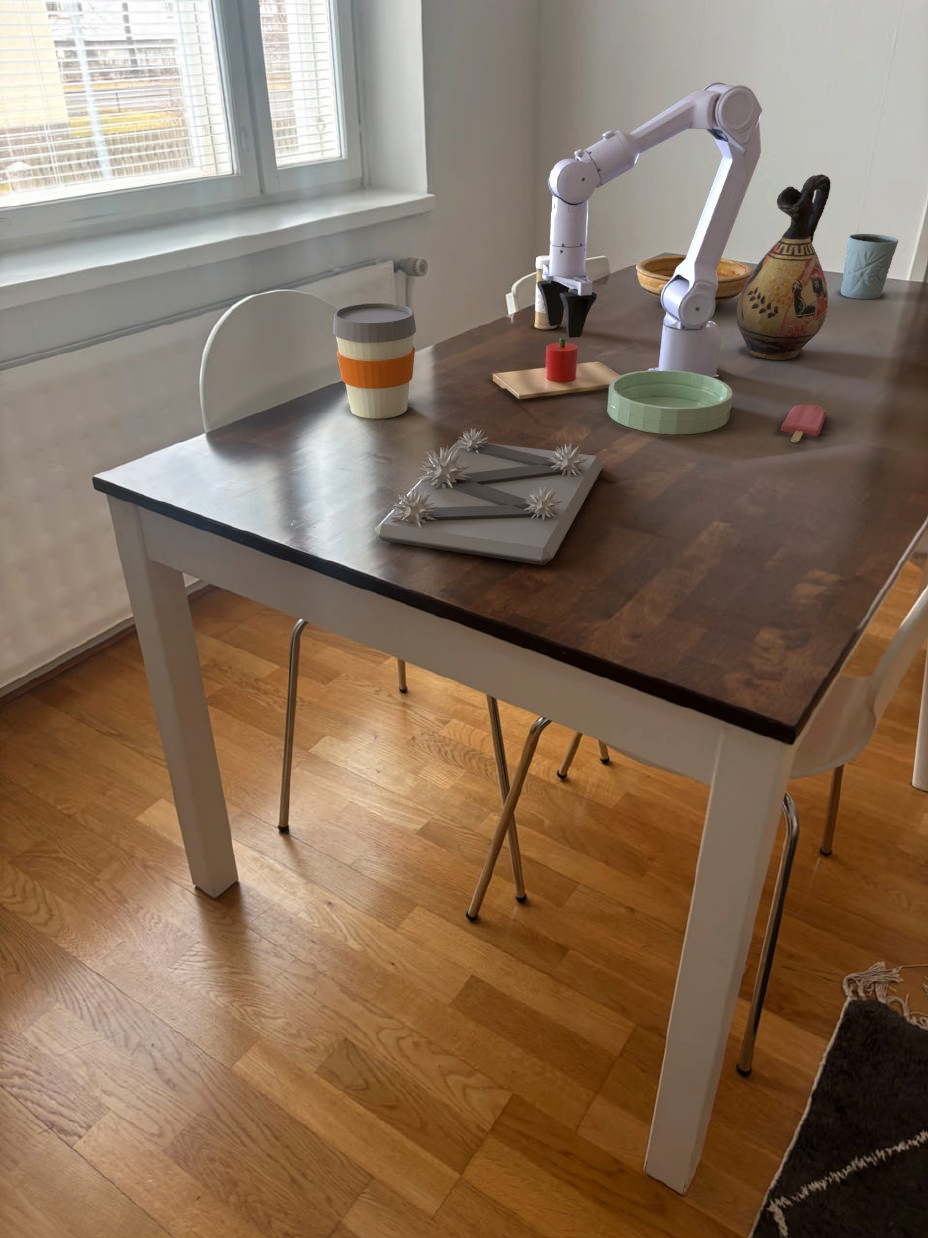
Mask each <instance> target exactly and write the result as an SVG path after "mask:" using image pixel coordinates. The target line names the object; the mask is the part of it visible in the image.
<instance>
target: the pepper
mask: <svg viewBox="0 0 928 1238" xmlns="http://www.w3.org/2000/svg"><path fill="white" fill-rule="evenodd" d="M578 351H579V346H578V345H576V344H574V343H572V342H571V343H570V342H566V338H565V337H560V338H559V342H552V343H549V344H547V345H546V348H545V355H546V356H545V368H546V370H545V378H546V379H547V380H549V381H553V382H570V381H573V380H575V379H576V373H577V364H578V355H579V354H578V353H579V352H578Z"/></svg>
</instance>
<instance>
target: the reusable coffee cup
mask: <svg viewBox="0 0 928 1238" xmlns="http://www.w3.org/2000/svg"><path fill="white" fill-rule="evenodd" d="M332 329H333V331H332V333H333V335H334V336H335V338H336V342H337V349H336V357H337V361H338V366H339V371H340V376H341V381H342V382H343V383H345V388H346V392H347V398H348V403H349V408H350V412H351V414H353V415H355V416H357V417H360V418H365V419H374V420H375V419H376V420H377V419H378V420H379V419H389V418H394V417H397V416H400V415H402V414H404V413H405V412H407V410H408V401H409V392H410V391H409V390H410V382H411V381H412V379H413V376H414V367H415V365H414V364H415V355H416V348H415V346H413V345H414V336H415V334H416V332H417V325H416V319H415V313H414V309H412V308H411V307H409V306H406V305H403V304H398V303H390V302H365V303H356V304H350V305H346V306H342V307H340V308H338V309H335V311H334V312H333V328H332Z"/></svg>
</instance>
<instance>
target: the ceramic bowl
mask: <svg viewBox="0 0 928 1238" xmlns="http://www.w3.org/2000/svg"><path fill="white" fill-rule="evenodd" d="M686 256H687V255H671V256H670V255H669V256H668V255H667V256H657V257H652V258H648V259H644V260H641V261H639V262H637V264H635V265H636V266H635V269H636V271H637V272H636V274H637V279H638V282H639V285H640V286H641V288H642V289H643V290H644V292H645V293H647V295H650V296H651V297H653V298H655V299H657V300H659V301H661V293H662V290H663V288H664V287H665V285H666V284H667V283H668V282H669V281H670V280H671V278H672V277H673V275H674V273H675V270H676V268H677V267H678V266H679V265H680V264H681V263H682V262H683V261H684V260H685V259H686ZM753 270H754V269H753V268H752V267H751V266H749V265H748V264H746V263H743V262H741V261H737V260H733V259H728V258H723V257H721V259H720V262H719V264H718V267H717V278H718V289H717V291H716V295H715V308H717V305H718V304H721V303H724V302H727V301H728V300H731V299H734V298H736V297H737V296H739V295H741V293H742V290H743V288H744V285H745V283H746V281H747V280H748V278H749V276H750V275H751V273H752V271H753Z"/></svg>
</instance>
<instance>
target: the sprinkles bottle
mask: <svg viewBox="0 0 928 1238" xmlns="http://www.w3.org/2000/svg"><path fill="white" fill-rule="evenodd" d="M535 259H536V260H535V268H536V283H535V307H534V308H535V309H534V310H535V315H534V318H535V319H534V320H535V321H534V327H535V328H536V329H539V330H545V331H547V330H554V329H555V328H557V327H558V325H556V326H549V325H548V321H547V316H546V310H545V305H544V301H543V298H542V295H541V292H540V290H539V288H538V286H537V282H538V281H545V279H543V278H542V274H543V265H544V264H549V262H550V255H539V256H537V257H536V258H535Z"/></svg>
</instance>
